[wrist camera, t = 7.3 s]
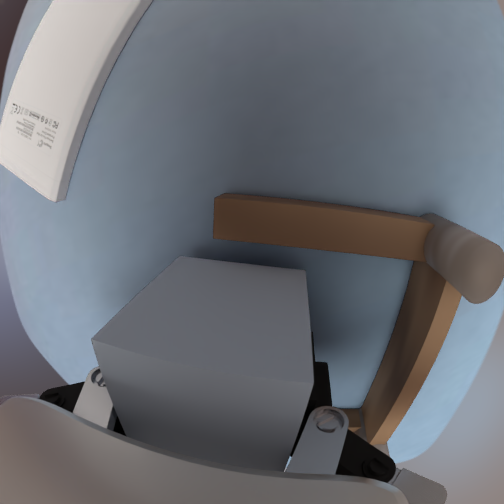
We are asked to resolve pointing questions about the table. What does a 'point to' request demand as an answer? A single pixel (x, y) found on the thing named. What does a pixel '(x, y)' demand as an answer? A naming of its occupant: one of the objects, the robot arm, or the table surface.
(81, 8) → the external hard drive
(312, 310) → the table surface
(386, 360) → the frame
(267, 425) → the tall white block
